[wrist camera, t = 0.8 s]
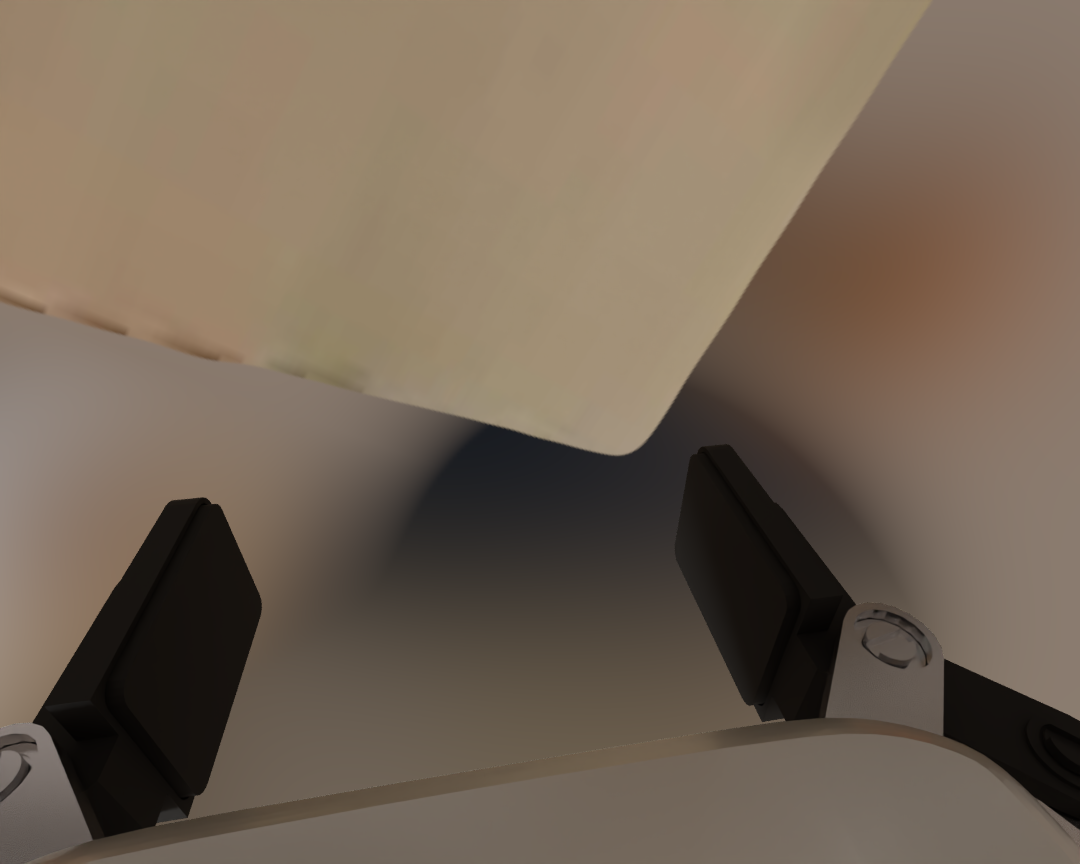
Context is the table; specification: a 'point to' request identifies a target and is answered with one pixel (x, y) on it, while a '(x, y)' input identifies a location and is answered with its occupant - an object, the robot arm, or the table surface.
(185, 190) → the table surface
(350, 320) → the table surface
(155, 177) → the table surface
